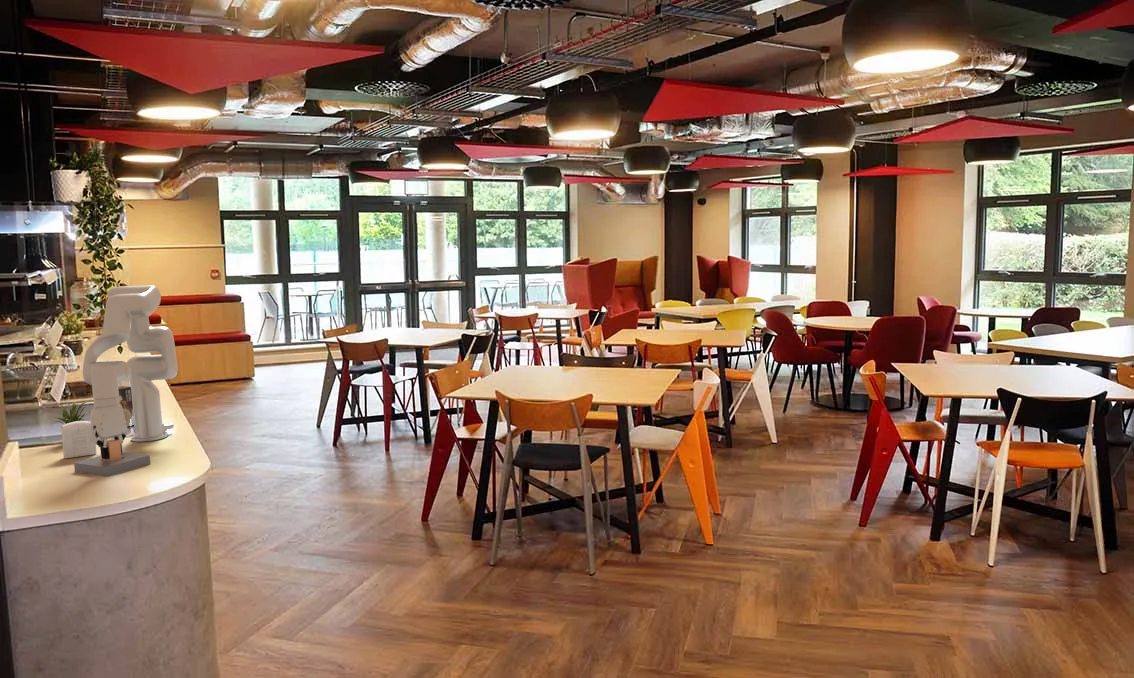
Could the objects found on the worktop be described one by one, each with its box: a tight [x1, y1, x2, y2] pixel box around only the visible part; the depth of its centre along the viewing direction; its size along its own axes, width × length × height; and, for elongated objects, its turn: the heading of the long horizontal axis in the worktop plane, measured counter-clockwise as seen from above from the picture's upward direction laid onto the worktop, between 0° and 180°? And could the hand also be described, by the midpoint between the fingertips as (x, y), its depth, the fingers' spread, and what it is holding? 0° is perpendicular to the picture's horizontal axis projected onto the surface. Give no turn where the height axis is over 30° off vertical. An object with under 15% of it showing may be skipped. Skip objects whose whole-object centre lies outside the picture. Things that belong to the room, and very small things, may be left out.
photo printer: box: [60, 420, 98, 459], centre depth 312 cm, size 10×4×12 cm, turn 123°
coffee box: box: [118, 385, 134, 428], centre depth 359 cm, size 9×6×16 cm
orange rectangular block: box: [103, 438, 122, 462], centre depth 293 cm, size 4×4×7 cm
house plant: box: [51, 400, 90, 430], centre depth 334 cm, size 14×14×16 cm
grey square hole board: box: [73, 451, 151, 477], centre depth 294 cm, size 16×16×3 cm
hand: (112, 456), depth 294 cm, fingers closed on orange rectangular block, 3 cm apart
